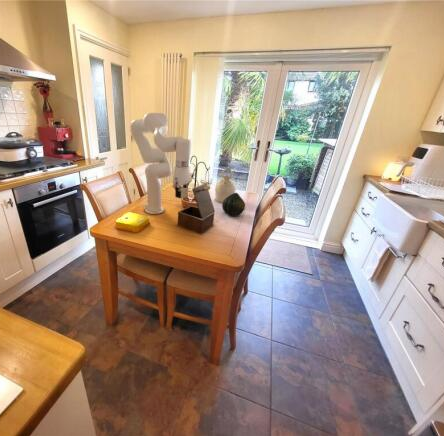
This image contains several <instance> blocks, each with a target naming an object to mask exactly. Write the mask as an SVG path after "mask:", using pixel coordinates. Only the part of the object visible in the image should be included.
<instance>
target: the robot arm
mask: <svg viewBox="0 0 444 436" xmlns="http://www.w3.org/2000/svg"><path fill="white" fill-rule="evenodd" d="M168 124H169V119H168V117H167V115H166V114H165V113H162V112H148V113H146V114H145V115H144V116H143V118H137V119H134V120H132V121H131V123H130V127H129V128H130V134H131V137H132V138H133V141H134V142H135V144H136V145H137V148H138V151H139V154H140V156H141V160H142V161H143V163H145V164H147V165H146V166H145V167H144V175H145V180H146V200H147V201H146V202H142V207H143V208H144V211H145V213H146V214H150V215H160V214H162V213H164V211H165V208H164V207H163V206H162V205H163V204H162V203H163V202H162V201H163V199H162V195H163V193H162V191H163V187H162V183H161V181H160V180H159V179H165V178H169V177H170V176H171V175H172V173H173V175H172V188H173V189H174V191H175V190H176V197H175V198H177V199H181V191H180V189H181V186H182V187H185V188H188V189H189V185H190V183H191V153H192V152H191V151H192V141H191V140H190V139H189V138H183V137H181V136H166V135H167V133H168V129H169V127H168ZM145 134H153V142H154V145H155V146H156V147H153V145H152V142H151V141H150V139H149V138H148V137H147V136H146V135H145ZM167 153H175V166H174V168H173V169H172V166H171V162H170V161H169V157H168V155H167ZM172 170H173V171H172ZM178 187H179V188H178Z"/></svg>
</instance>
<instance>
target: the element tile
mask: <svg viewBox="0 0 444 436" xmlns="http://www.w3.org/2000/svg"><path fill="white" fill-rule="evenodd" d="M149 220H150V216H149V215H145V214H141V213H134V212H130V211H129V212H126V213H125V214H123V215H121V217H119V218H117V219H116V220H115V228H116V229H118V230H124V231H127V232H130V233H131V232H132V233H140V232H141V231H142V230H143V229H145V227H146V226H147V225H149V223H150V221H149Z"/></svg>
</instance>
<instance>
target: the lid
mask: <svg viewBox="0 0 444 436" xmlns="http://www.w3.org/2000/svg"><path fill="white" fill-rule="evenodd" d="M210 189H211V187H210V185H208V183H203V184H201V185H197V186H196V187H193V188H192V189H191V190H192V194H193V196H194V200H195V203H196V207H198V209H199V213H200V216H201V219H204V218H205V217H207V216H209V215H210V214H212V213H214V214H215V212H216V211H215V207H214V204H213V200H212V197H211V194H210Z"/></svg>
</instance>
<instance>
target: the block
mask: <svg viewBox="0 0 444 436" xmlns="http://www.w3.org/2000/svg"><path fill="white" fill-rule="evenodd" d="M178 188H179V186H178ZM180 191H181V198H180V200H183V199H185V198H188V196H189V187H188V188H185V187H183V185H182V186H181V189H180ZM174 197H175V198H177V197H176V190H175V189H174Z"/></svg>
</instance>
